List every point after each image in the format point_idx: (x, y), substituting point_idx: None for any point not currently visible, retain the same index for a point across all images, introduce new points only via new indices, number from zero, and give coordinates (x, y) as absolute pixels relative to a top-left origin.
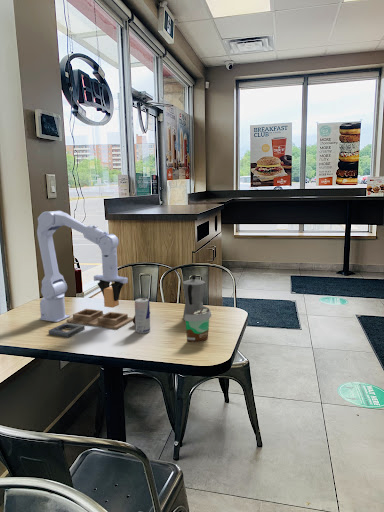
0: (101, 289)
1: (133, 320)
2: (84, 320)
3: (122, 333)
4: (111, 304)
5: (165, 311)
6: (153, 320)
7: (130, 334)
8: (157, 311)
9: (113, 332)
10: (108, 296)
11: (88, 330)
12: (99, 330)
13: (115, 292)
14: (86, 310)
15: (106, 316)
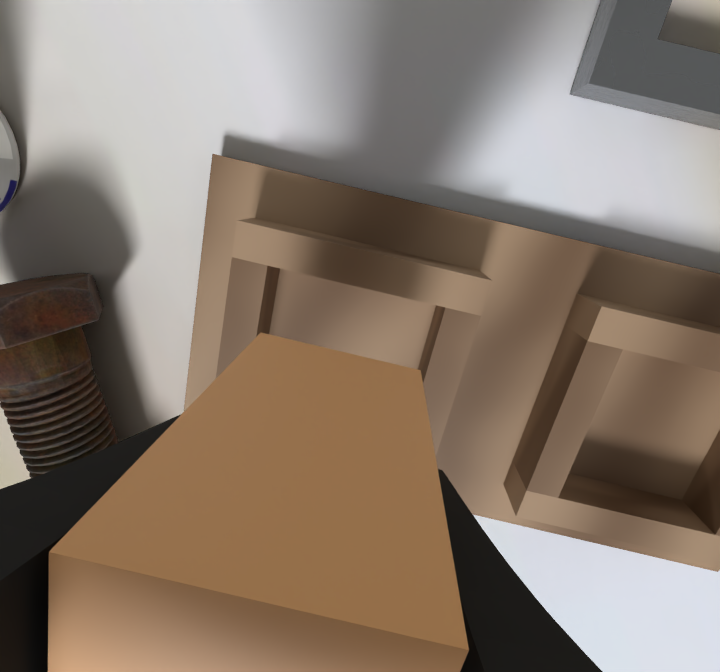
0: (570, 666)
1: (68, 281)
2: (651, 311)
3: (115, 45)
4: (274, 355)
5: None
6: None
7: (23, 30)
8: None
9: (219, 59)
10: (302, 443)
11: (515, 73)
12: (392, 95)
13: (4, 488)
14: (712, 526)
15: None
